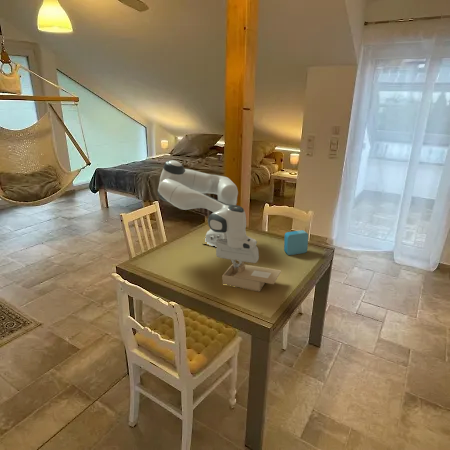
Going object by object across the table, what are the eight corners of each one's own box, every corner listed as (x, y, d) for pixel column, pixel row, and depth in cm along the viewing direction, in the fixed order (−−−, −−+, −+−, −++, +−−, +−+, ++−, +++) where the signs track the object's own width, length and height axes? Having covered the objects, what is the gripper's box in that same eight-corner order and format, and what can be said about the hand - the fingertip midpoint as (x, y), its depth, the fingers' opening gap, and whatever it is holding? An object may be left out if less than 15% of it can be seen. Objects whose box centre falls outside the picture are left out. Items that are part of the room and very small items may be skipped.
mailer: (222, 284, 164) (222, 275, 162) (232, 273, 174) (232, 264, 172) (259, 291, 157) (259, 282, 155) (267, 279, 167) (267, 269, 165)
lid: (234, 277, 159) (234, 270, 158) (244, 265, 170) (244, 258, 169) (273, 284, 152) (273, 277, 151) (281, 271, 163) (281, 264, 162)
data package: (303, 249, 197) (304, 229, 193) (307, 252, 193) (308, 232, 189) (283, 252, 194) (284, 232, 190) (287, 255, 190) (287, 235, 186)
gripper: (213, 240, 161) (214, 267, 165) (255, 246, 153) (255, 274, 158) (218, 235, 166) (219, 261, 171) (259, 241, 158) (259, 268, 163)
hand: (237, 267), depth 164 cm, fingers closed
